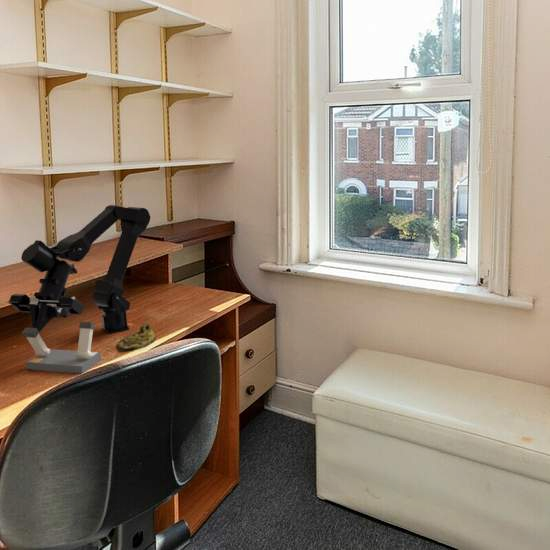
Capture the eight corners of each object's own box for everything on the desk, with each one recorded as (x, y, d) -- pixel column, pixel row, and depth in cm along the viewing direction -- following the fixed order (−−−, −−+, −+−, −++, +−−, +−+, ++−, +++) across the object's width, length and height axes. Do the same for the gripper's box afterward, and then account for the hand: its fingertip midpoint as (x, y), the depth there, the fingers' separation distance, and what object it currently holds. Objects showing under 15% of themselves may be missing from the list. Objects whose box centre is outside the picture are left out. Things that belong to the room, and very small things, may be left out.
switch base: (47, 355, 151) (46, 348, 151) (101, 359, 148) (100, 352, 147) (26, 369, 143) (25, 361, 142) (82, 373, 139) (81, 365, 139)
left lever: (40, 350, 147) (25, 327, 141) (50, 351, 147) (36, 328, 141) (36, 356, 146) (21, 332, 140) (47, 356, 145) (33, 333, 139)
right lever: (79, 357, 144) (83, 322, 146) (90, 358, 144) (94, 323, 145) (75, 357, 143) (79, 321, 144) (86, 358, 142) (91, 322, 143)
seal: (139, 357, 152) (163, 337, 166) (139, 341, 151) (164, 322, 165) (108, 351, 154) (135, 332, 168) (108, 335, 153) (135, 317, 167)
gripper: (99, 296, 155) (82, 348, 148) (40, 293, 160) (21, 344, 152) (80, 276, 146) (61, 330, 138) (18, 274, 150) (-4, 327, 143)
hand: (35, 333), depth 143 cm, fingers closed
